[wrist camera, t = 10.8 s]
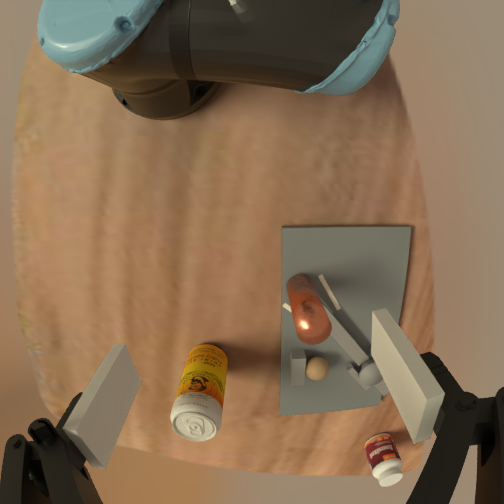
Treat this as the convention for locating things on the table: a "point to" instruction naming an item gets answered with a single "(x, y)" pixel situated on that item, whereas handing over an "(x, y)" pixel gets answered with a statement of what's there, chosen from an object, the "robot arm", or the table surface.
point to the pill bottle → (384, 459)
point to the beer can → (200, 394)
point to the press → (339, 310)
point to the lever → (323, 324)
